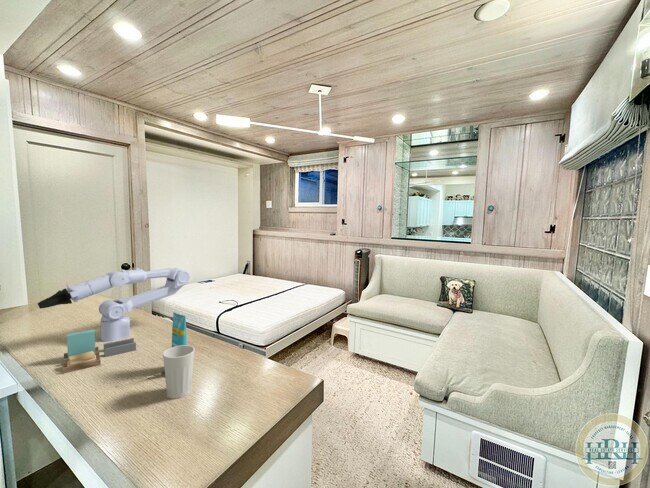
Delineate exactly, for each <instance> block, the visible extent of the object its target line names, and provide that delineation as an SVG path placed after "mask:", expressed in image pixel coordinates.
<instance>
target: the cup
mask: <svg viewBox="0 0 650 488" xmlns="http://www.w3.org/2000/svg"><path fill="white" fill-rule="evenodd" d="M195 350H196V348H195V347H194V346H192V345H188V344H187V345H181V346H175V347H172V346H171V347H169V348H167V349H166V350H164V351H163V353H162V357H163V366H164V378H165V379H164V380H165V386H166V387H165V389H166V397H167V398H169V399H173V400H175V399H181V398H184V397H186V396H188V395H189V394H190V393H191V392H192V390H193V389H192V387H193V386H192V383H193V373H194V372H193V371H194V360H195Z"/></svg>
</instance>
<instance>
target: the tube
mask: <svg viewBox="0 0 650 488" xmlns="http://www.w3.org/2000/svg"><path fill="white" fill-rule="evenodd" d="M171 326H172V327H171V329H172V330H171V348H172V347H175V346H181V345H188V337H187V320H186V315H185V314H184V315H183V314H179V313H177V312H175V311H172V325H171Z"/></svg>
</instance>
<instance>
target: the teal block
mask: <svg viewBox="0 0 650 488" xmlns="http://www.w3.org/2000/svg"><path fill="white" fill-rule="evenodd" d="M66 337H67V341H66V342H67V344H66V345H67V346H66V347H67V353H68V358H69V357H70V356H74V355H78V354H82V353H86V352H90V351H93V352H95V347H96V330H95V329H88V330H82V331H77V332H72V333H70V332H69V333H67V336H66Z"/></svg>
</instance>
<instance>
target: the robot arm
mask: <svg viewBox="0 0 650 488" xmlns="http://www.w3.org/2000/svg"><path fill="white" fill-rule="evenodd" d="M159 278H166V281H165V284H164V285H163V286H160V287H157V288H153V289H151V290H147V291H145V292H141V293H138V294H136V295H133V296H129V297H126V298H118V299H108V300H104V301H102V303H100V304H99V306H98V312H99V314H100V315H101V318H100V341H101V342H106V343H110V342H116V341H120V340H124V339H129V338H131V321H130V317H129V315H127V314H129V313H131V311H132V310H133V309H137V308H139V307H142V306H145V305H148V304H151V303H154V302H157V301H160V300H163V299H165V298H168V297H170V296H173V295H175V294H176V293H177V292H178V291H179V290H180V289H182V288H183V286H186V285H187V284H188V283H189V281H190V278H191V275H190V272H189V271H188V270H185V269H184V270H183V269H179V268H175V267H173V268H169V267H167V268H160V269H154V270H146V271H145V270H144V269H142V268H139V267H135V268H134V269H129V270H125V269H121V271H118V270H110V271H108V272H106V274H104V275H102V276H98V277H95V278H91V279H88V280H85V281H84V282H81V283H77V284H73V285H72V286H71V284H70V283H68V284H66V288H63V289H62V290H61V289H59V290H58V291H57V292H56V293H54V294H52V295H51V296H49V297H47V298H45V299H43V300H40V301H39V302H37V305H38V308H39V309H47V308H52V307H55V306H60V305H71V304H73V303H76V302H78V301H80V300H83V299H86V298H89V297H91V296H94V295H97V294H99V293H103V292H105V291H107V290H109V289H112V288H114V287H116V288H117V287H119V288H122V287H123V286H125V285H126V286H127V285H132V284H138V283H139V284H140V283H143V282H145V281H146V280H147V279H148V280H149V279H159ZM125 315H126V316H125Z"/></svg>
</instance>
